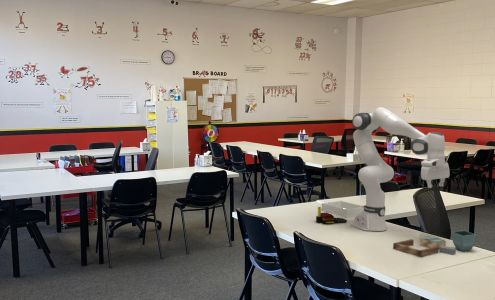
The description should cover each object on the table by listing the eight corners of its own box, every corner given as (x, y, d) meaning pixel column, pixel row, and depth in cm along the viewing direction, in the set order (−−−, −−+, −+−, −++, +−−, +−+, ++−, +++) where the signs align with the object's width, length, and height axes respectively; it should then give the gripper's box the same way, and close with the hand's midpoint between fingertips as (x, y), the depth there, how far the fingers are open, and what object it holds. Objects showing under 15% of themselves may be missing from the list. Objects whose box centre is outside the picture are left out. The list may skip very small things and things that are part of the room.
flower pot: (461, 252, 249) (462, 235, 248) (450, 247, 258) (451, 231, 257) (476, 251, 252) (476, 234, 251) (464, 246, 260) (465, 230, 259)
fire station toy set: (312, 221, 316) (312, 204, 315) (339, 219, 321) (340, 203, 320) (321, 226, 302) (322, 209, 301) (350, 224, 308) (351, 207, 307)
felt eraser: (439, 252, 250) (439, 247, 249) (441, 251, 253) (441, 245, 252) (453, 255, 245) (453, 249, 245) (455, 253, 248) (455, 248, 248)
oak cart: (420, 246, 262) (420, 237, 261) (428, 243, 266) (429, 235, 266) (436, 250, 253) (437, 242, 253) (445, 248, 258) (445, 239, 258)
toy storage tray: (321, 211, 344) (321, 203, 343) (341, 208, 354) (341, 200, 354) (346, 218, 323) (346, 209, 322) (366, 215, 333) (366, 206, 333)
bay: (393, 248, 255) (393, 243, 255) (411, 244, 263) (411, 239, 263) (420, 257, 241) (420, 251, 241) (438, 252, 249) (438, 247, 249)
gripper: (442, 160, 271) (442, 184, 272) (419, 162, 260) (418, 187, 261) (452, 161, 266) (452, 186, 266) (429, 163, 255) (428, 189, 255)
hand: (435, 187), depth 263 cm, fingers open, 8 cm apart
